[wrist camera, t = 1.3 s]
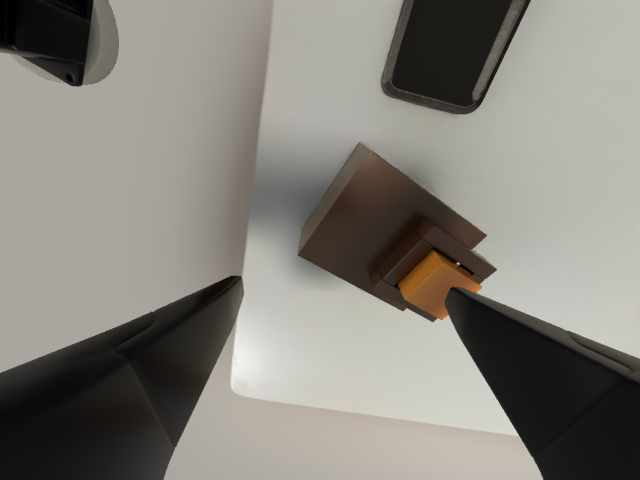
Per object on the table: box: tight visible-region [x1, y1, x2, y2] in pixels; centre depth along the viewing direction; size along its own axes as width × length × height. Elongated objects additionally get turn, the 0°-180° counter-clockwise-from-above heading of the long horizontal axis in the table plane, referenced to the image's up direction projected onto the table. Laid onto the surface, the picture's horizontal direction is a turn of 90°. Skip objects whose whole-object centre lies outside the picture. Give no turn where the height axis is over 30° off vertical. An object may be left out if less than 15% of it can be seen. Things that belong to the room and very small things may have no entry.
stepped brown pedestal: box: [297, 142, 497, 322], centre depth 21 cm, size 14×10×7 cm
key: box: [397, 248, 482, 320], centre depth 18 cm, size 4×4×2 cm
